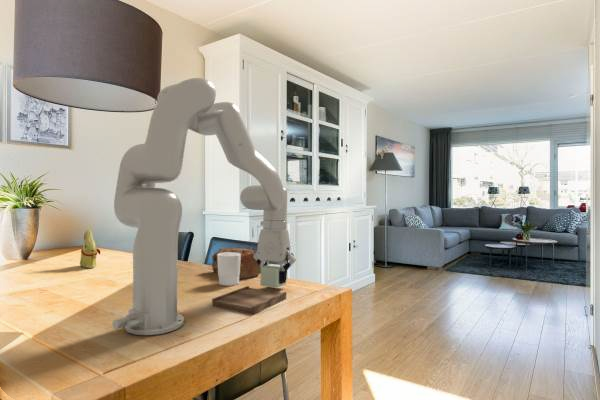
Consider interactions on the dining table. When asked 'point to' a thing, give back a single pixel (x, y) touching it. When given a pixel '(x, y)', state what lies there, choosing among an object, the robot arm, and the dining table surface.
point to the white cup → (229, 268)
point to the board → (248, 300)
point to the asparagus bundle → (88, 251)
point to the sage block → (270, 276)
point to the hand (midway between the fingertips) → (273, 281)
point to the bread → (247, 264)
